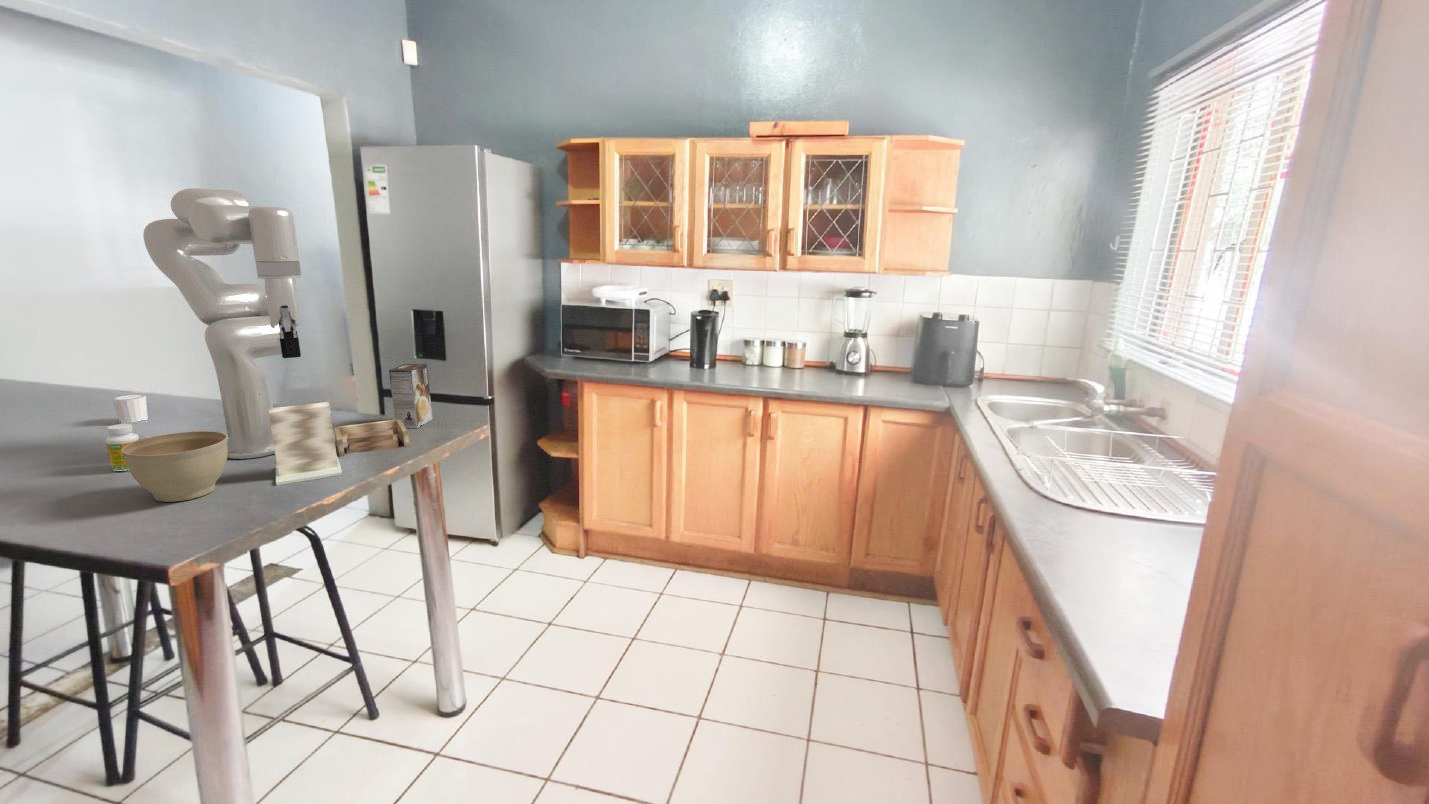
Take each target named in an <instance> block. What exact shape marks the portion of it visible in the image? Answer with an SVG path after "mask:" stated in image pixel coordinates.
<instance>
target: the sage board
mask: <svg viewBox="0 0 1429 804" xmlns="http://www.w3.org/2000/svg"><path fill="white" fill-rule="evenodd" d="M338 457H339V456H337V462H338V467H335V468H329V469H322V470H316V471H309V472H303V473H297V474H290V475H284V476H279V473H278V467H277V465H275V484H276V485H275V486H282V485H287V484H289V485H290V484H295V483H301V482H306V481H312V480H313V481H315V480H319V479H324V478H332V477H337V476H342V475H343V470H342V468H341V463H340V459H339V458H338Z"/></svg>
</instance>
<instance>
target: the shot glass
mask: <svg viewBox="0 0 1429 804" xmlns="http://www.w3.org/2000/svg"><path fill="white" fill-rule="evenodd" d="M111 400H112V403H113V405H114V409H115V412H116V414H117V416H118V417H117V418H118V420H119V422H120V421H121V422H137V421H141V420H147V419H148V405H147V396H146V395H145V394H139V393H137V394H126V395H121V396H117V397H114V398H112V399H111ZM148 420H149V419H148Z"/></svg>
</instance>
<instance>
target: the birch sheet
mask: <svg viewBox="0 0 1429 804" xmlns="http://www.w3.org/2000/svg"><path fill="white" fill-rule="evenodd" d="M269 417H270V424H271V430H272V436H273V442H274V448H275V453H274V454H275V459H276V460H275V461H276V466H277V467H278V473H279V476H284V475H290V474H297V473H303V472H309V471H316V470H322V469H329V468H335V467H338V462H337V457H338V456H337V451H336V450H337V449H336V447H337V446H336V441H335V433H334V426H333V418H332V411H331V405H330V403H329V401H326V402H325V401H324V402H317V403H307V404H299V405H288V406H280V407H279V406H278V407H273V408H269Z"/></svg>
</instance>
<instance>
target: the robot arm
mask: <svg viewBox="0 0 1429 804" xmlns="http://www.w3.org/2000/svg"><path fill="white" fill-rule="evenodd" d="M170 208H171V211H172V213H173V215H174V216H175V217H176V218H163V219H158V220H154V221H152V222H150V223H148V224H147V225H146V226H145V228H144V229H143V234H142V237H143V241H144V242H143V243H144V245H145V248H146V250H147V253H148V255H149V257H150V259H151V260H152V262H153V264H154V265H155V266H156V267H157V268H158V270H159V271H160V272H161V273H163V275H165V277H167V278H168V279H169V280H170V281H171V282H172V283H173V284H174V285H175V286H176V287H177V289H178V290H179V292H180V294H182V296H183V298H184V299H185V301H186V302H187V304H188V306H189V307H190V309H191V311H193V313H194V314H195V316H196V317H197V318H198V320H199V321H201V323H203V324H204V325H207V327H206V329H205V331H204V341H205V344H206V347H207V349H208V351H209V355H210V358H211V360H212V363H213V366H214V370H215V372H216V378H217V382H218V387H219V394H220V398H221V404H222V405H221V406H222V409H223V416H224V420H225V427H226V431H227V432H226V435H227V436H228V442H227V447H228V455H227V459H230V460H231V459H232V460H244V459H245V460H247V459H254V458H262V457H266V456H271V455H274V454H275V448H274V442H273V436H272V430H271V424H270V417H269V408H274V405H273V398H272V392H271V385H270V380H269V377H268V374H267V373H266V371H265V370H263V368H261V367H260V366H259V365H257V364H256V362H254V360H255V359H259V358H265V357H272V356H281V357H282V359H291V358H293V359H294V358H300V357H301V356H302V355H301V354H302V353H301V347H300V341H299V336H298V330H297V329H296V328H297V327H298V326H299V325H300V323H299V322H300V321H299V320H300V313H299V301H298V300H299V298H298V291H297V284H296V279H299V278H303V277H302V276H303V275H302V269H301V264H300V262H301V261H300V256H299V255H300V254H299V247H298V241H297V234H296V226H295V219H294V215H293V213H292V211H291V210H290V209H288V208H285V207H274V206H271V207H270V206H252V205H251V203H250V201H249V200H248V199H247V197H246V196H244V194H242V193H241V192H238V191H235V190H230V189H215V188H214V189H212V188H194V187H193V188H184V189H182V190H178V192H176V193H175V194H173V196H172V198H171V200H170ZM241 245H252V249H253V256H254V261H255V266H256V267H255V269H256V275H257V278H258V279H261V280H262V279H263V280H264V286H263V285H260V284H258V283H234V284H232V283H226V282H225V281H224V280H223V278H222V277H221V276H220V274H219V273H218V272H217V271H216V270H215V269H214V268H212V266H210V265H209V264H207V263H205V262H204V261H202V260H199V259H197V258H196V257H197V256H198V257H200V256H201V257H203V256H228V255H233V254H235V253H236V252H237V251H238V249H239V248H240V246H241ZM194 256H196V257H194Z"/></svg>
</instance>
